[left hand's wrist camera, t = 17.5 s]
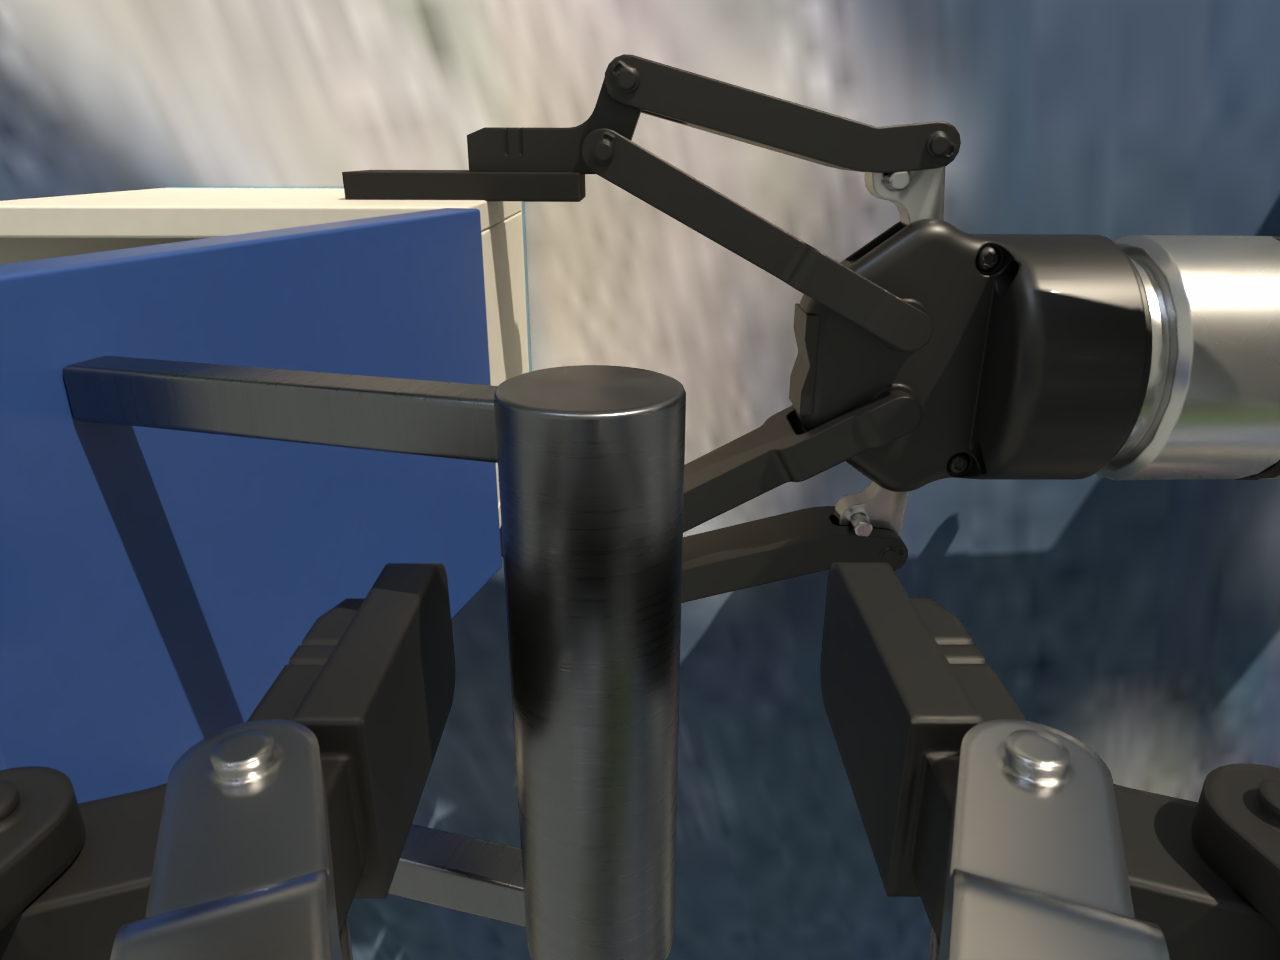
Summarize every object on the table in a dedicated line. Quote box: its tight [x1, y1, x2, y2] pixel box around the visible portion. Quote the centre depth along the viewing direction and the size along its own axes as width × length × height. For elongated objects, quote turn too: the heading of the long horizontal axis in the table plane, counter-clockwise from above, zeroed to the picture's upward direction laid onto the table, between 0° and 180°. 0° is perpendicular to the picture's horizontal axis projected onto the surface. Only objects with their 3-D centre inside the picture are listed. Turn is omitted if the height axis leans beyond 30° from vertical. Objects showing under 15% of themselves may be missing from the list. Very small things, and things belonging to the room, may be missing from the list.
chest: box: [0, 187, 532, 527], centre depth 28 cm, size 13×10×11 cm
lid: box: [0, 208, 686, 960], centre depth 15 cm, size 14×10×8 cm
